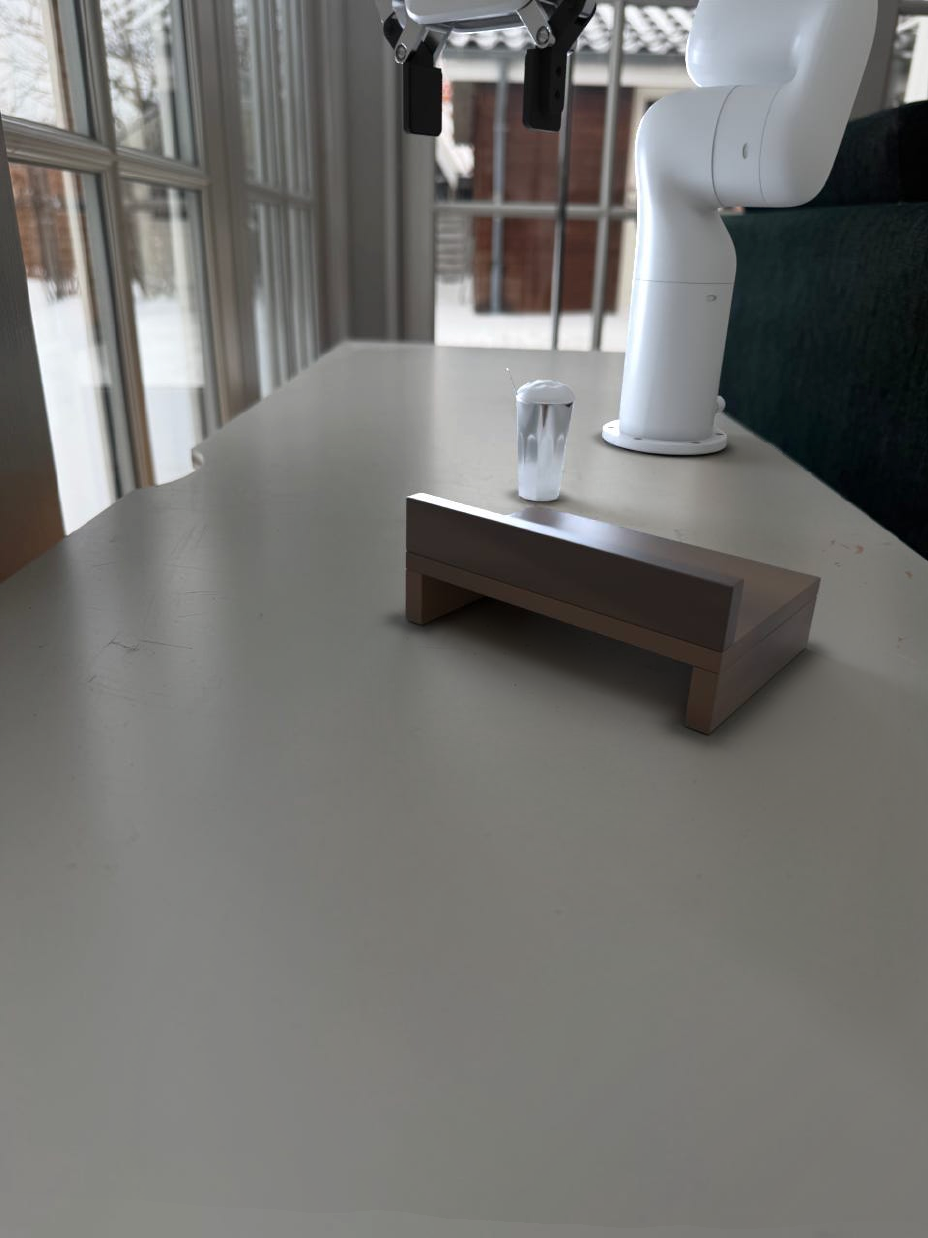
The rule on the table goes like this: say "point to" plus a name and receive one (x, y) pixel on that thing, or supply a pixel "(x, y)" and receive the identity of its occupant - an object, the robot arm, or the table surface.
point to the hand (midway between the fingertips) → (479, 132)
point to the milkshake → (542, 437)
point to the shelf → (616, 591)
